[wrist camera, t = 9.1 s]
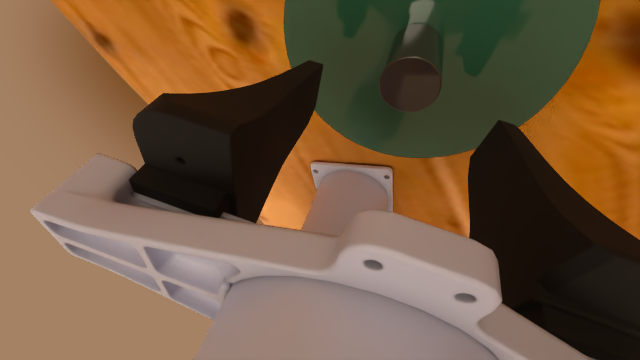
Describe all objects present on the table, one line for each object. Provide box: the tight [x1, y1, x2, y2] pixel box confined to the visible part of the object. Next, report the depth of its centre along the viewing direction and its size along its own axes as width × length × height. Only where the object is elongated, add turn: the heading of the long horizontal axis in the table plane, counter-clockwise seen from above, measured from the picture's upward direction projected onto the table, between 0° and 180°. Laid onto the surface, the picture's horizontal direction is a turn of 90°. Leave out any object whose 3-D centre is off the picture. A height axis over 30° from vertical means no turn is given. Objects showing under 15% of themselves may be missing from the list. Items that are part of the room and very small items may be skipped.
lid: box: [284, 0, 600, 158], centre depth 14 cm, size 13×13×4 cm
